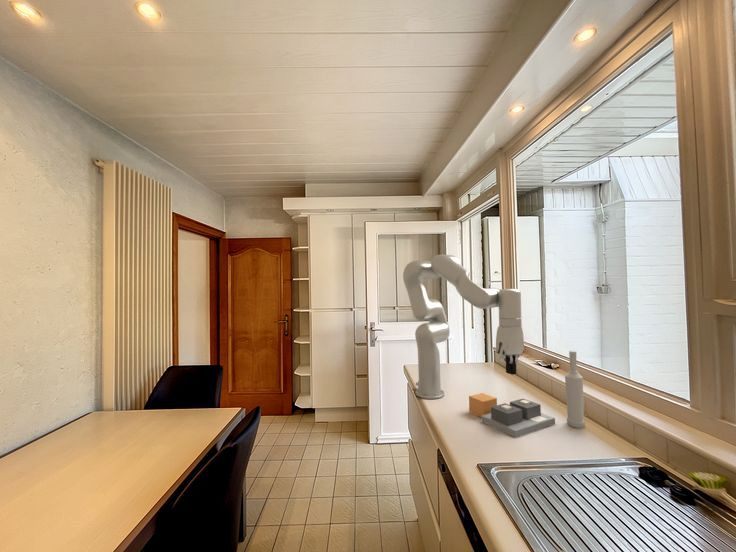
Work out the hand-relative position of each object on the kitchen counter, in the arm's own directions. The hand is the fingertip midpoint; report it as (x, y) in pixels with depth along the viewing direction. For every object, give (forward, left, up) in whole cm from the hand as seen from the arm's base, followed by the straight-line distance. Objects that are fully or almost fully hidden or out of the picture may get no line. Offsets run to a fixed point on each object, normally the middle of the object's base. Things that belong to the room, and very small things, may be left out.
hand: (511, 373), depth 118 cm
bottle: (+15, +13, -16) cm, 26 cm away
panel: (+4, -2, -16) cm, 17 cm away
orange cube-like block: (-8, -6, -16) cm, 19 cm away
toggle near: (+4, -7, -13) cm, 16 cm away
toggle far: (+4, +2, -13) cm, 14 cm away
